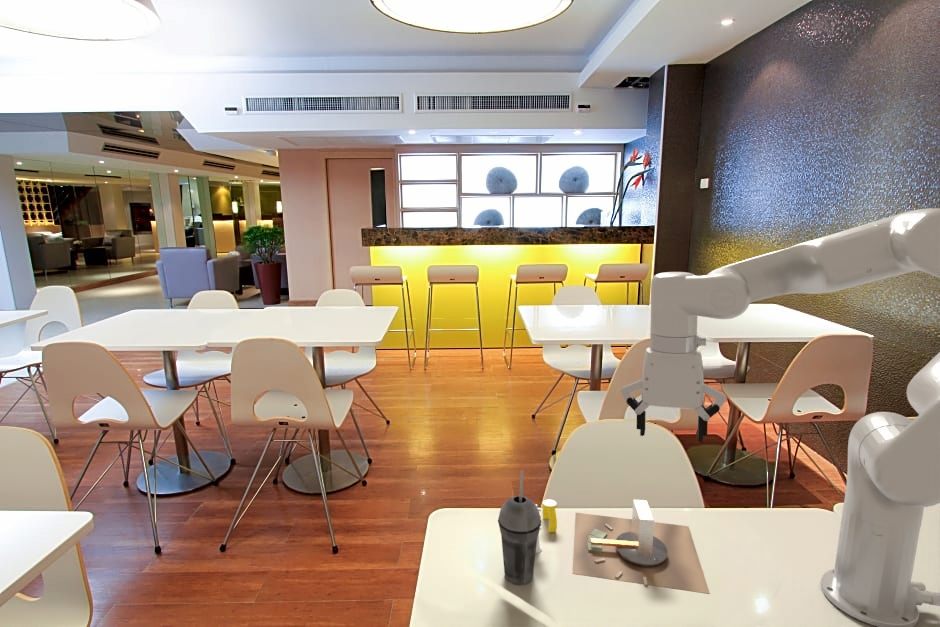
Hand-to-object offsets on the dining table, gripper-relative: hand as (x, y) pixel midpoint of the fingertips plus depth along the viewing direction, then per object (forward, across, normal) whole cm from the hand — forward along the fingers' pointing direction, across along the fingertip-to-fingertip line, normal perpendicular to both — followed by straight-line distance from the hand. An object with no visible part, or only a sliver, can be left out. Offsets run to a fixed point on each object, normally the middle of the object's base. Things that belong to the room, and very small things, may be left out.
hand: (670, 436), depth 92 cm
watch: (+22, +22, +2) cm, 32 cm away
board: (+23, +6, +3) cm, 24 cm away
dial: (+21, +7, +4) cm, 23 cm away
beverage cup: (+22, +24, +18) cm, 37 cm away
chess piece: (+22, +23, +10) cm, 33 cm away
